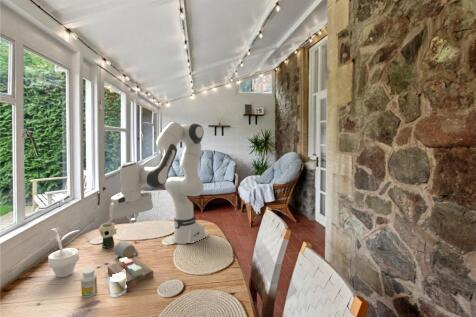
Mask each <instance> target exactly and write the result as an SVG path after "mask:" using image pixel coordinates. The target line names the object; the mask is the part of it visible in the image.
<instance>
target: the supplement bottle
mask: <svg viewBox="0 0 476 317" xmlns="http://www.w3.org/2000/svg"><path fill="white" fill-rule="evenodd" d="M97 283H98V280H97V274H96V273H95V268H93V267H90V268H85V269H84V270H83V271H82V277H81V278H80V284H81V285H80V287H81V288H80V290H81V291H80V292H81V296H82V297H83V298H91V297H93V296H94V295H96V294H97V293H98V284H97Z"/></svg>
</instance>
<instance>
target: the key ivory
mask: <svg viewBox="0 0 476 317" xmlns="http://www.w3.org/2000/svg"><path fill="white" fill-rule="evenodd" d="M127 259H129V258H127V257H125V258H122V257H121V258H119V259H118V262H119V264H120V265H121V266H123V261H124V260H127Z"/></svg>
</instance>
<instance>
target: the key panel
mask: <svg viewBox="0 0 476 317" xmlns="http://www.w3.org/2000/svg"><path fill="white" fill-rule="evenodd" d="M129 259H131V260H133V264H135V265H137V266H138V265H139V266H140V267H141V268H142V275H140V276H137V277H135V278H134V277H133V276H132V275H131V273H130V274H129V273H128V272H127V270H126V275H127V281H126V285H127V289H129V288H132V287H134V286H136V285H138V284H141V283H144V282H147V281H149V280H151V279H153V278H154V270H153V269H152V268H150V267H149V266H148V265H146V264H145V263H144V262H143V261H141V260H140V259H139V258H138V257H136V256H134V257H133V256H132V257H131V258H129ZM123 269H124V268H123V266H121V265H120V264H119V261H118V262H116V263H112V264H110V265H107V273H108V274H109V276H111V275H112V274H116V273H119V272H121V271H122V270H123Z"/></svg>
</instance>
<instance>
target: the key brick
mask: <svg viewBox="0 0 476 317" xmlns="http://www.w3.org/2000/svg"><path fill="white" fill-rule="evenodd" d="M131 264H133V260H131V259H130V258H128V259H127V260H124V261H123V268H124V269H125V270H127V266H129V265H131Z"/></svg>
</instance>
